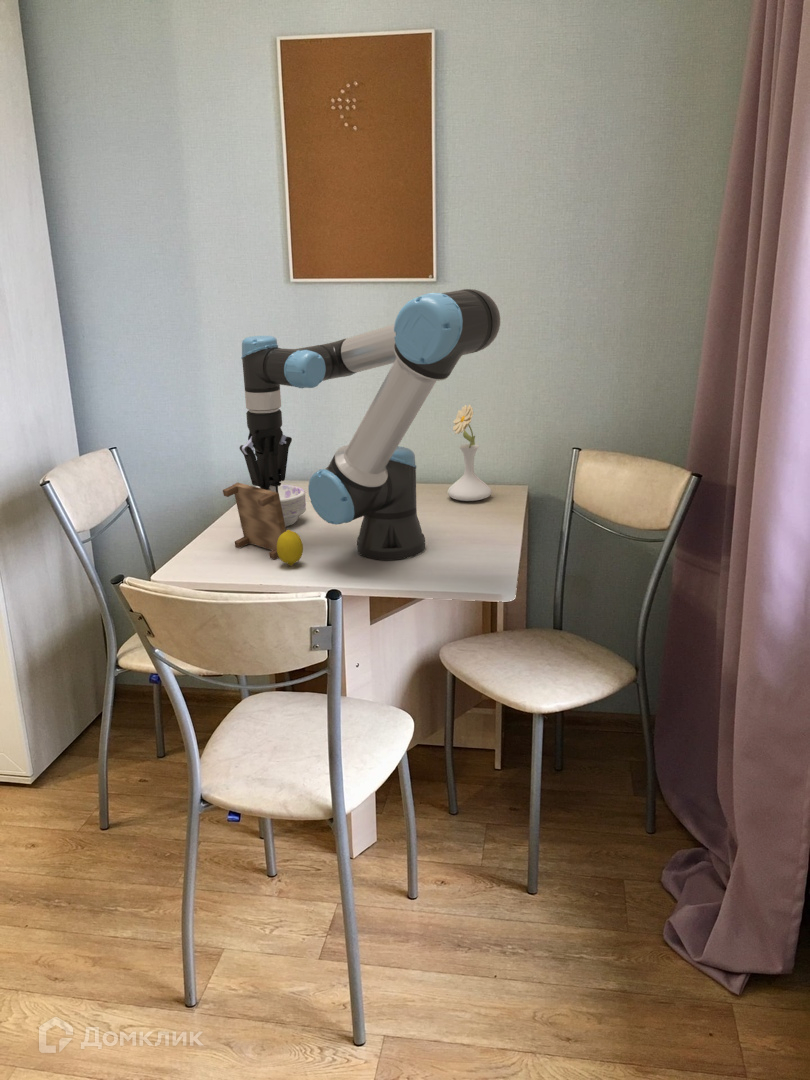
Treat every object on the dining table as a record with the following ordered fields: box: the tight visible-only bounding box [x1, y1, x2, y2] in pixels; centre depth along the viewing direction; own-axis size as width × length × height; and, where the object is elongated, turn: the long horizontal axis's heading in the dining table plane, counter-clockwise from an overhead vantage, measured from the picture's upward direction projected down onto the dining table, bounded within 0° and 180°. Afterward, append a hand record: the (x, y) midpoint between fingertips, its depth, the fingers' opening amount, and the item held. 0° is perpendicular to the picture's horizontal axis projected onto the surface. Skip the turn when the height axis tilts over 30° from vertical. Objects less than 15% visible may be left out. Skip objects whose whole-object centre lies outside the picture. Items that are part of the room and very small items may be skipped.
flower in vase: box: [447, 403, 493, 502], centre depth 248 cm, size 13×11×25 cm
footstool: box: [222, 482, 287, 560], centre depth 215 cm, size 14×4×14 cm, turn 47°
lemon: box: [277, 529, 304, 567], centre depth 207 cm, size 6×6×8 cm
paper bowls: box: [256, 484, 307, 527], centre depth 236 cm, size 15×15×8 cm
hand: (271, 514), depth 218 cm, fingers closed
